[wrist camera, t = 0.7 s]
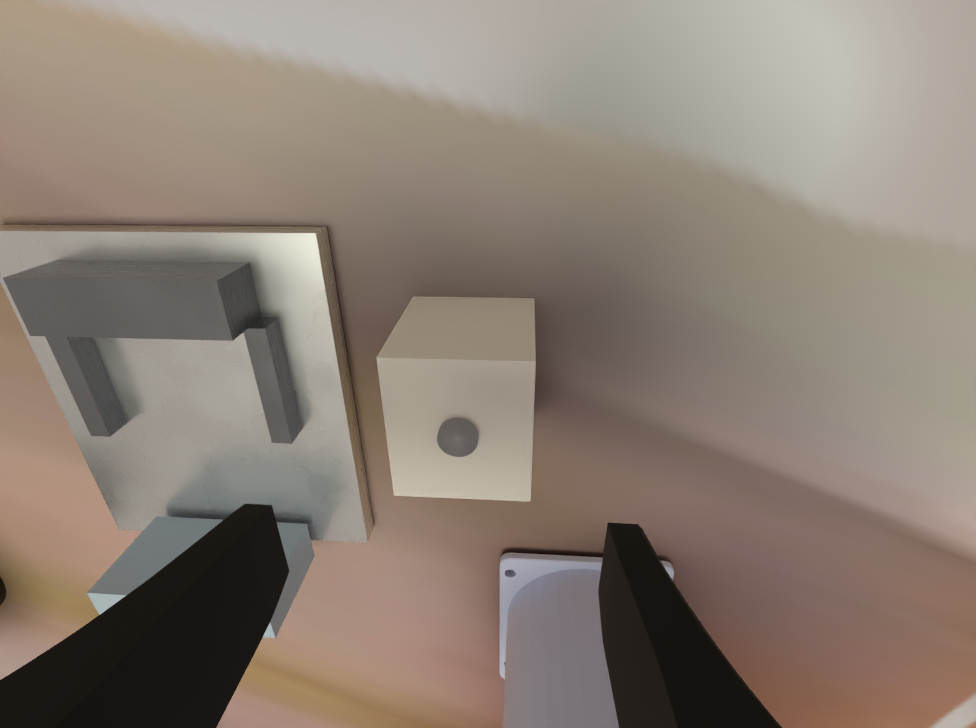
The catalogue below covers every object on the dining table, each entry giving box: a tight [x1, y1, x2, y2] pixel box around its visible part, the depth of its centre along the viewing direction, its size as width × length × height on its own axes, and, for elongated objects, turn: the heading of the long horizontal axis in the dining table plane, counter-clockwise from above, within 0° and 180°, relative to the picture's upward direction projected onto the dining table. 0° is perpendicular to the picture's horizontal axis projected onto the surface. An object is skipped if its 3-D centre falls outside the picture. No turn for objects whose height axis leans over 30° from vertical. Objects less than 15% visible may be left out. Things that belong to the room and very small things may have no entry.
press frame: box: [0, 224, 374, 543], centre depth 20 cm, size 14×12×3 cm
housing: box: [376, 296, 536, 502], centre depth 17 cm, size 5×4×5 cm
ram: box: [87, 516, 314, 638], centre depth 21 cm, size 2×7×4 cm, turn 91°
